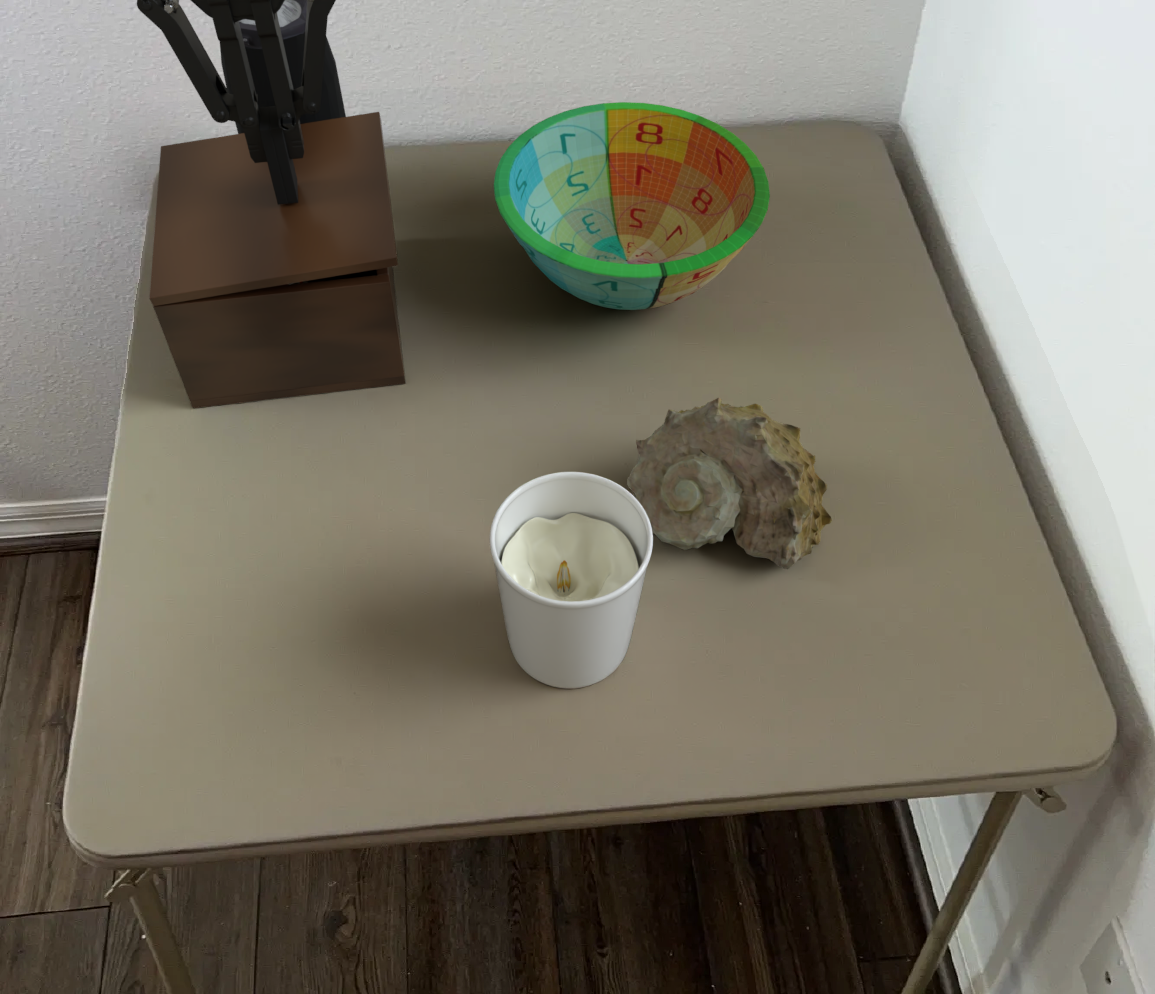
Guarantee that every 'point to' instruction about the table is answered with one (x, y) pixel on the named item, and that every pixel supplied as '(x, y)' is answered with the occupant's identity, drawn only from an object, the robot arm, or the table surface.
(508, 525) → the candle holder
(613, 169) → the bowl
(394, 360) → the chest
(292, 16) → the portable speaker
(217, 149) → the lid
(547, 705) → the table surface
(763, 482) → the seashell
